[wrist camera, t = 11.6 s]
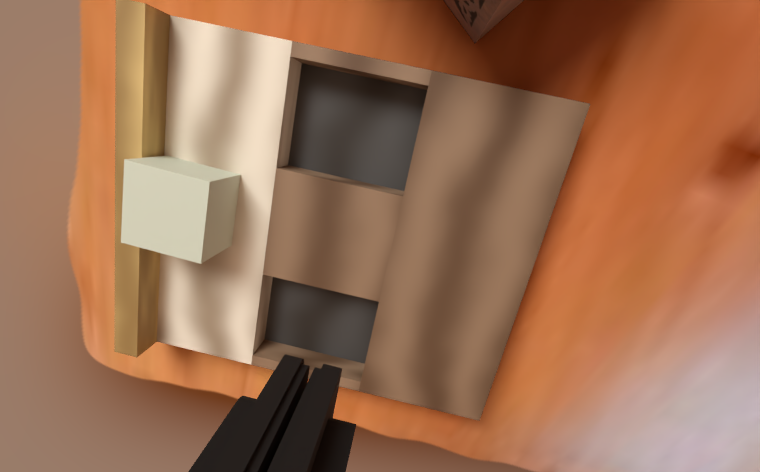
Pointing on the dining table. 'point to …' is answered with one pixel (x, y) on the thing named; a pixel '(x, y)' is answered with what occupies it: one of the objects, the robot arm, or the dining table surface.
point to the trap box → (338, 207)
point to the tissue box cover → (480, 14)
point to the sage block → (178, 207)
